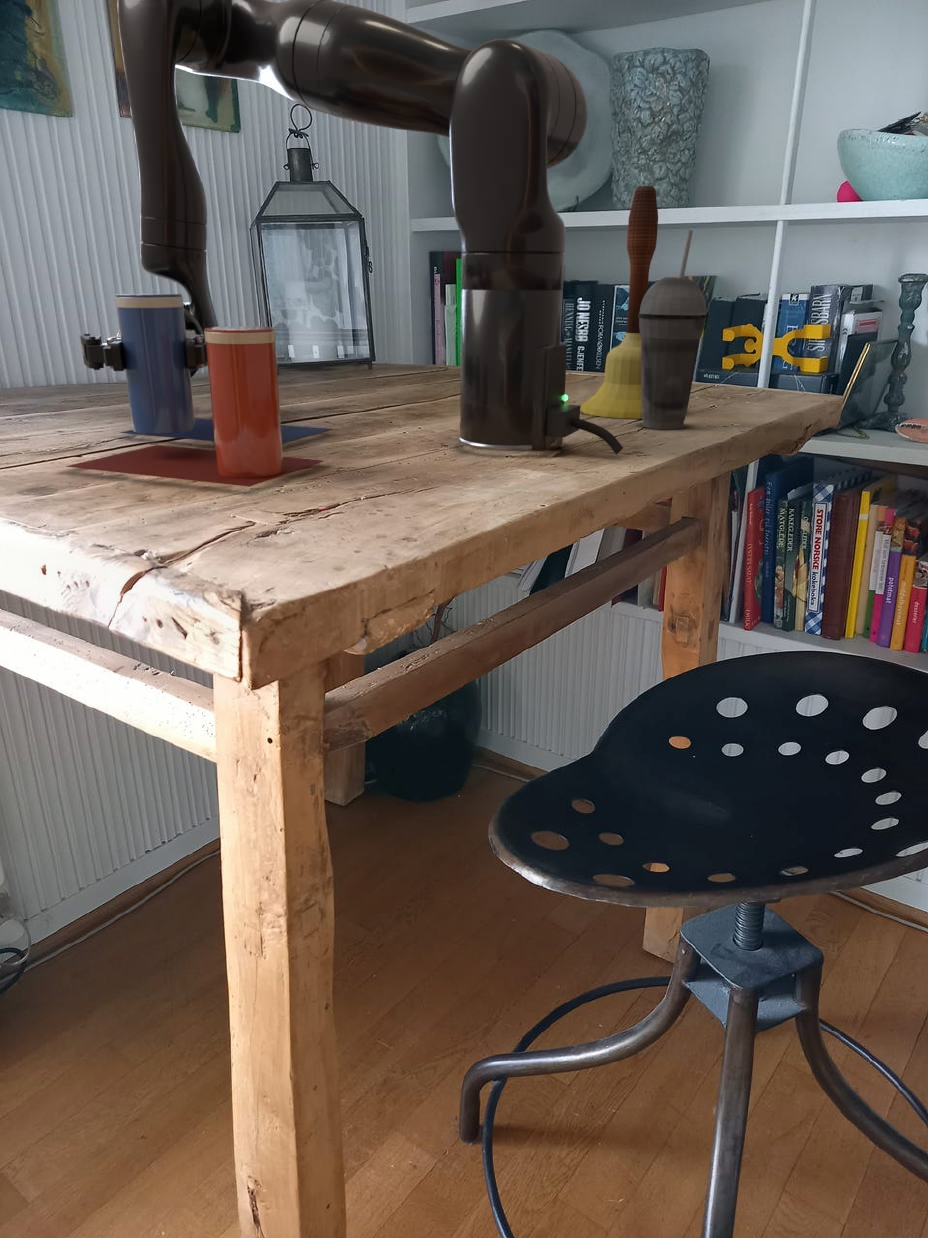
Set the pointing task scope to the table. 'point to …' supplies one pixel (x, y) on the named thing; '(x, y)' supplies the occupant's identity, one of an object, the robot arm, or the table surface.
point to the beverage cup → (670, 347)
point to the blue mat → (206, 432)
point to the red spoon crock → (245, 400)
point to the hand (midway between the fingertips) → (154, 356)
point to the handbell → (630, 318)
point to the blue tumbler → (156, 362)
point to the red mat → (181, 465)
